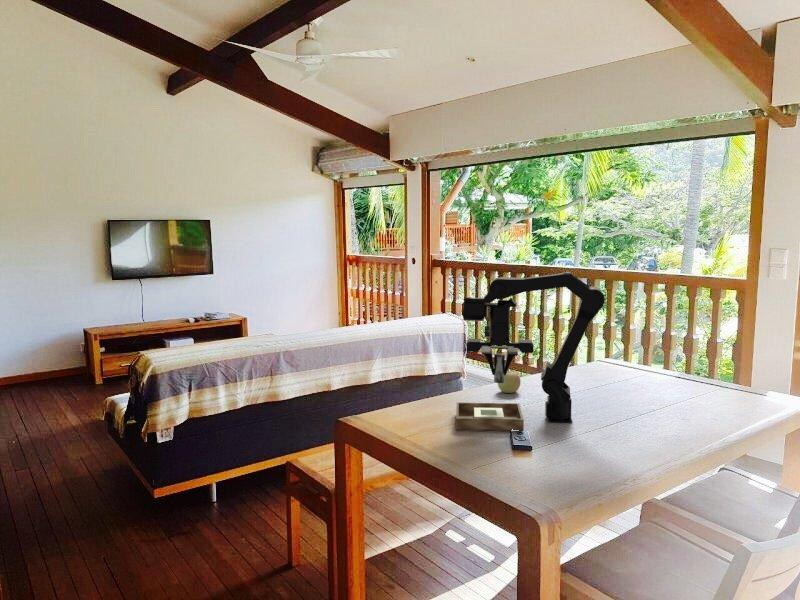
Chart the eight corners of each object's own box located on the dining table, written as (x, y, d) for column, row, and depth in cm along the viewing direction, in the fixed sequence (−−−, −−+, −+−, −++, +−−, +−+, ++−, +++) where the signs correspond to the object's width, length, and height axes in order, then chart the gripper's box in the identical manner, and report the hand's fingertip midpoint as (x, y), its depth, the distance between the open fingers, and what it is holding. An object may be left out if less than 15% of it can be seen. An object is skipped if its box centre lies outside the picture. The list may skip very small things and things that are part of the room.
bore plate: (502, 416, 171) (502, 408, 171) (503, 425, 163) (504, 417, 163) (474, 415, 172) (474, 407, 172) (474, 425, 164) (474, 416, 164)
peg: (504, 380, 174) (504, 353, 173) (504, 383, 171) (504, 355, 170) (493, 380, 174) (494, 353, 173) (494, 382, 171) (494, 355, 170)
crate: (518, 414, 174) (518, 403, 173) (523, 432, 160) (523, 419, 159) (456, 413, 176) (456, 402, 175) (456, 430, 162) (456, 418, 161)
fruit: (515, 396, 191) (515, 372, 190) (494, 393, 195) (494, 369, 194) (524, 390, 198) (524, 367, 197) (503, 387, 202) (503, 364, 200)
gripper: (531, 317, 176) (530, 368, 179) (467, 316, 179) (467, 367, 181) (534, 324, 166) (533, 378, 168) (466, 323, 168) (466, 376, 170)
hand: (499, 374), depth 172 cm, fingers closed on peg, 3 cm apart
